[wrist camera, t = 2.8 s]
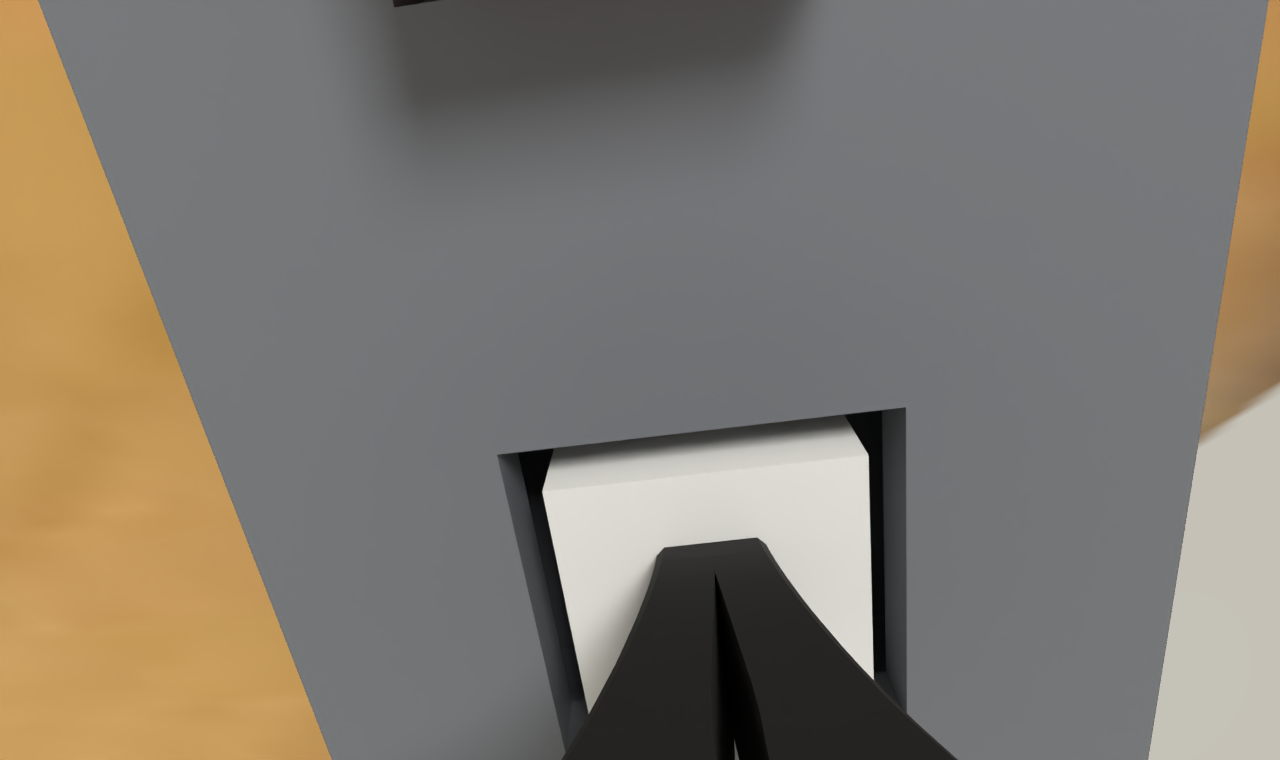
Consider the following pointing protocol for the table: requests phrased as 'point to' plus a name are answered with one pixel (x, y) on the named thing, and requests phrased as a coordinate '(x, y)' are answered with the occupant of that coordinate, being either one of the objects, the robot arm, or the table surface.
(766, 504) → the white button
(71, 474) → the table surface
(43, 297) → the table surface
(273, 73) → the console
